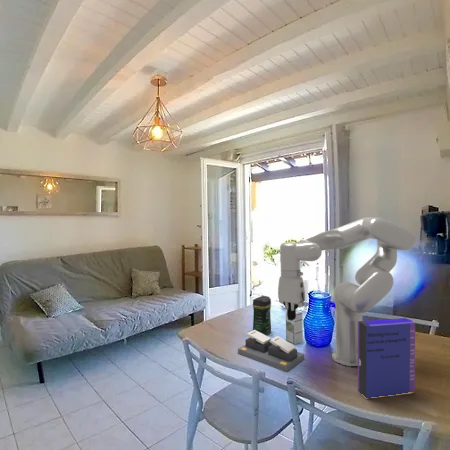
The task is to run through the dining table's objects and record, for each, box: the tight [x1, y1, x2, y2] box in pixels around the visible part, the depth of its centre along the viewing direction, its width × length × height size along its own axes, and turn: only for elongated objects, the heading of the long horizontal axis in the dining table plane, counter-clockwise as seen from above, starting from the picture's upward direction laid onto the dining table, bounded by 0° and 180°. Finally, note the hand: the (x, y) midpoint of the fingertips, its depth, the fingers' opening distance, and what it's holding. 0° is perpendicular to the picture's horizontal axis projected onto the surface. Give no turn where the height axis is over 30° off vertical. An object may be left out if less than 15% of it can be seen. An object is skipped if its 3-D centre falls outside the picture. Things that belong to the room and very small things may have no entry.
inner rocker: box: [270, 335, 297, 353], centre depth 126 cm, size 9×6×1 cm, turn 48°
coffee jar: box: [252, 295, 272, 336], centre depth 155 cm, size 10×8×19 cm
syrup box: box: [285, 309, 304, 345], centre depth 145 cm, size 6×6×14 cm
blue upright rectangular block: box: [357, 317, 416, 398], centre depth 103 cm, size 17×5×24 cm, turn 99°
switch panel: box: [237, 334, 305, 373], centre depth 130 cm, size 24×14×7 cm, turn 48°
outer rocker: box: [246, 329, 272, 344], centre depth 134 cm, size 9×6×1 cm, turn 48°
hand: (291, 319), depth 123 cm, fingers closed
